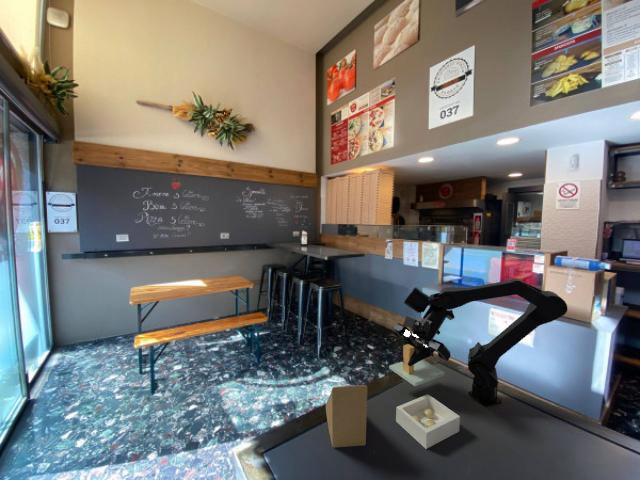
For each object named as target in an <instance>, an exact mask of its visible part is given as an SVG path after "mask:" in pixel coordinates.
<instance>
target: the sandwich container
mask: <svg viewBox="0 0 640 480" xmlns="http://www.w3.org/2000/svg"><path fill="white" fill-rule="evenodd" d="M325 405H326V406H325V411H326V412H325V413H326V420H327V421H326V422H327V428H328V433H329V436H330V437H329V438H330V442H331V446H332V448H344V447H345V448H346V447H359V446H366V444H367V442H366V441H367V413H368V386H367V385H365V384H364V385H342V386H341V385H340V386H334V387H332V388H331V391H330V394H329V396H328V400H327V401H326V404H325Z"/></svg>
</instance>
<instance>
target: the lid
mask: <svg viewBox="0 0 640 480" xmlns="http://www.w3.org/2000/svg"><path fill="white" fill-rule="evenodd" d="M402 352H403V362H402V361H400V362H397V363H393V364H391V365H389V366H388V367H389V370H390V371H393V372H394V373H395V374H396V375H398V376H399V377H401V378H402V379H403V380H405V381H406V382H408V383H409V384H411V385H412V386H413V387H417V386H419V385H422V384H425V383H427V382H431V381H433V380H436V379H438V378H441V377H443V376H445V373H446V371H443V370H442V369H440V368H438V367H437V366H435V365H433V364H432V363H430V362H428V361H427V360H425V359H423V360H421V361H419V362H417V363H416V364H414V365H412V366H408V362H409V360H410V358H411V357H412V355H413V353H414V352H415V350H414V347H413V346H411V345H409V344H407V345H404V344H403V347H402Z"/></svg>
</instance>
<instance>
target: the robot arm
mask: <svg viewBox="0 0 640 480" xmlns="http://www.w3.org/2000/svg"><path fill="white" fill-rule="evenodd" d="M507 296H509V297H510V296H518V297H520V298H522V299H523V300H525V301H527V302H528V303H529V304H528V306H527V308H526V309H525V310H524V312H523V313H522V314H521V315H520V316H519V317H517V318H516V319H515V320H514V321H513V322H511V323H510V325H508V326H507V327H506V328H504V330H502V331H501V332H500V333H499V334H497V336H496V337H494V338H493V339H491V340H490V341H489V342H488V343H486V344H481V343H480V342H479V341H478V342H476V344H475V345H474V346H473V347H471V348H469V349H468V351H469V352H468V355H467V368H468V371H469V372H470V374H472V375H474V376H473V377H472V382H471V390H469V391H468V392H467V394H468V395H469V396H471V397H472V398H473V399H475V400H476V401H477V402H478V403H480V404H481V405H483V406H484V407H489V406H493V405H497V404H502V403H503V401H502V399H501V398H499V397H498V388H499V387H498V386H499V378H498V372H497V367H496V365H497V364H498V361H499V360H500V358H501V357H502V356H504V355H505V354H506V353H507V352H508V351H510V350H512V349H513V348H514V347H515V346H516V345H517V344H518V343H519V342H521V341H522V340H523V339H525V338H526V337H527V336H528V335H530V334H531V333H532V332H533V331H534V330H536V329H537V328H538V327H540V326H542V325H545V324H546V325H547V324H549V323H551V322H554V321H556V320H558V319H560V318H562V317H563V316H565V315H566V313H568V304H567V302H566V301H565V300H564V299H563V298H562V297H561V296H559V295H558V294H557V293H555V292H554V291H550V290H543V289H542V290H541V289H539V288H538V287H536V286H533V285H531V284H529V283H526V282H524V281H523V280H521V279H520V278H511V279H509V280H504V281H498V282H492V283H487V284H482V285H481V284H480V285H475V286H469V287H459V286H456V287H453V286H452V287H443V288H441V289H440V291H439V292H435V293H433V294H430V295H428V294H426V293H425V292H423V291H422V290H420V289H419V288H418V287H417V286H415V287H414V288H413V289H412V290H411V292H410V293H409V294H408V295H407V297H406V299H405V300H404V302H403V305H405V306H407V307H408V308H410V309H411V310H413V311H414V312H416V313H418V314H422V313H424V312H425V313H424V315H423V317H421V316H419V317H417V319H415V318H413V317H411V316H407V315H406V316H405V319H404V322H403V324H401V323H399V322H397V323H395V325H394V326H393V328H392V329H393V331H395V332H396V333H397V334H398V336H400V338H401V339H403V346H404V345H407V344H409V345H411V346H413V347H414V353H413V355H412V357H411V358H410V360H409V362H408V366H412V365H414V364H416V363H417V362H419V361H421V360H425V359H428V358H430V357H434V352H436V353H437V357H438V358H440V359H442V360H443V361H446V362H449V360H450V358H451V351H450V350H449V348H448V347H447V345H445V344H444V343H443V342H441V341H438V340H437V339H434V338H435V337H436V335H440V333H441V331H440V328H441V327H442V325H443V323H444V322H445V320H446V319H448V320H449V321H452V320H455V318H456V317H455V314H454V311H453V310H454V309H457V308H461V307H462V306H464V305H467V304H469V303H473V302H478V301H484V300H491V299H495V298H496V299H497V298H502V297H507ZM428 306H429V307H428ZM427 308H428V309H427ZM426 309H427V310H426ZM415 343H416V344H415ZM400 362H403V351H402V353H401V357H400Z"/></svg>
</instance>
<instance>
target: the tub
mask: <svg viewBox="0 0 640 480" xmlns="http://www.w3.org/2000/svg"><path fill="white" fill-rule="evenodd" d="M395 410H396V411H395V416H396V417H395V422H396V423H397V424H398V425H399V426H400V427H402V428H403V429H404V430H405V431H406V432H407V433H408V434H409V435H410V436H411V437H412V438H414V440H415V441H417V442H418V443H419V444H420V445H421V446H422V447H423V448H425V450H427V449H430V448H431V447H433V446H435V445H437V444H439V443H440V442H442V441H444V440H445V439H447V438H449V437H451V436H453V435H455V434H457V433H460V423H461V419H460V418H461V415H459V414H457V413H456V412H454V411H453V410H451V409H449V407H447V406H445V405H444V404H443V403H441V402H440V401H439V400H437V399H436V398H434V397H432V396H431V395H429V394H428V393H426V394H425V395H422V396H420V397H418V398H415V399H413V400H410V401H408V402H405V403H403V404H400V405H398V406H396V409H395Z"/></svg>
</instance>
